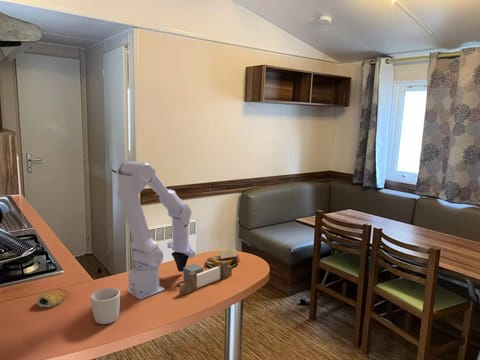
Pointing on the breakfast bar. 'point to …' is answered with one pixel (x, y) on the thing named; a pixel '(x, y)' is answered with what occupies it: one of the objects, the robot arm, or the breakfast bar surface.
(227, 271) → the stepped wooden block
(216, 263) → the toy sandwich meal
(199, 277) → the door
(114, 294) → the cup
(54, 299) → the pastry
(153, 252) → the robot arm
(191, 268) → the grey cube
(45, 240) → the breakfast bar surface
